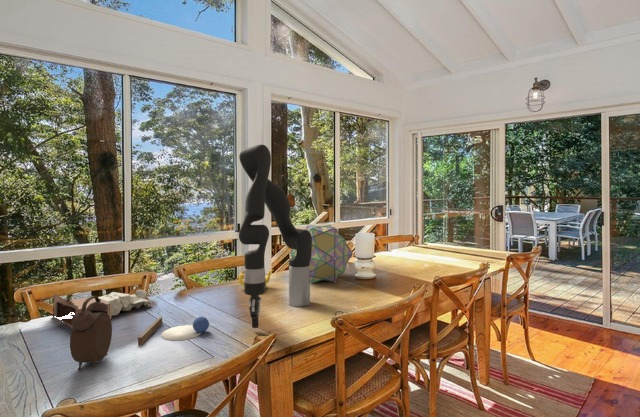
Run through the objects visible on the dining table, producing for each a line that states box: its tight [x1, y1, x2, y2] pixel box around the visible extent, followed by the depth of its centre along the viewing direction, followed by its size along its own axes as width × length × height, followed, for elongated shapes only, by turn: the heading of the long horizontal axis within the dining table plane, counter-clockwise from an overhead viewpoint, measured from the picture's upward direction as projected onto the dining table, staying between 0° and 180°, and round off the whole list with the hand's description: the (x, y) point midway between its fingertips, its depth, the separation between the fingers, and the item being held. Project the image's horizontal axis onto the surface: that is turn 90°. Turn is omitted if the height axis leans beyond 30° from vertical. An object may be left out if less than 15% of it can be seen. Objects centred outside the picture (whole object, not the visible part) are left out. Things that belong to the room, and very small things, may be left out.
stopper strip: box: [137, 316, 163, 346], centre depth 142 cm, size 1×20×2 cm, turn 3°
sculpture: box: [289, 224, 354, 285], centre depth 219 cm, size 30×30×30 cm
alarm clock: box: [69, 295, 113, 371], centre depth 118 cm, size 15×7×20 cm, turn 5°
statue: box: [51, 289, 153, 335], centre depth 162 cm, size 24×35×10 cm
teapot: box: [238, 269, 274, 288], centre depth 202 cm, size 14×13×10 cm
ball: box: [192, 316, 210, 334], centre depth 143 cm, size 6×6×6 cm
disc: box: [161, 324, 202, 342], centre depth 143 cm, size 14×14×1 cm
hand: (255, 327), depth 144 cm, fingers closed
